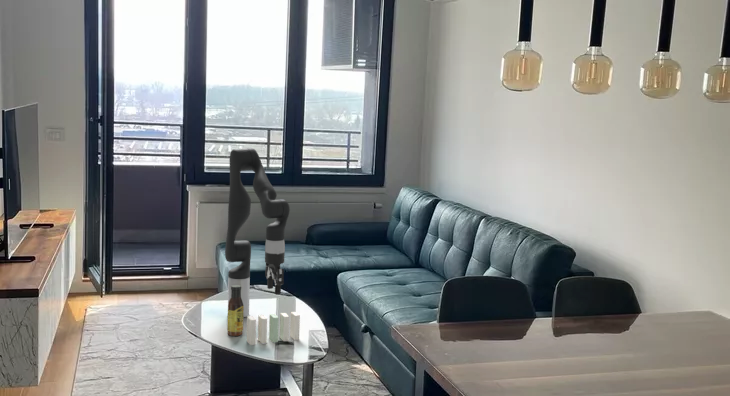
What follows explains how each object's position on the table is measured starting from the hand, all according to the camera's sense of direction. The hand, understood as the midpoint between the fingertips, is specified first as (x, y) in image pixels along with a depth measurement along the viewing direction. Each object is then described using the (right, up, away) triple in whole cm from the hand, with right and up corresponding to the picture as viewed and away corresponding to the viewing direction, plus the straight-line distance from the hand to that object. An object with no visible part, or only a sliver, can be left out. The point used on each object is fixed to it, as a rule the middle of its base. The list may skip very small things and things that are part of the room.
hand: (273, 291), depth 271 cm
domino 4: (+3, -20, +5) cm, 20 cm away
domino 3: (-1, -20, +3) cm, 20 cm away
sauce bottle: (-17, -19, +8) cm, 26 cm away
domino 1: (-9, -20, -1) cm, 22 cm away
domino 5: (+7, -20, +7) cm, 22 cm away
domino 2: (-5, -20, +1) cm, 20 cm away
